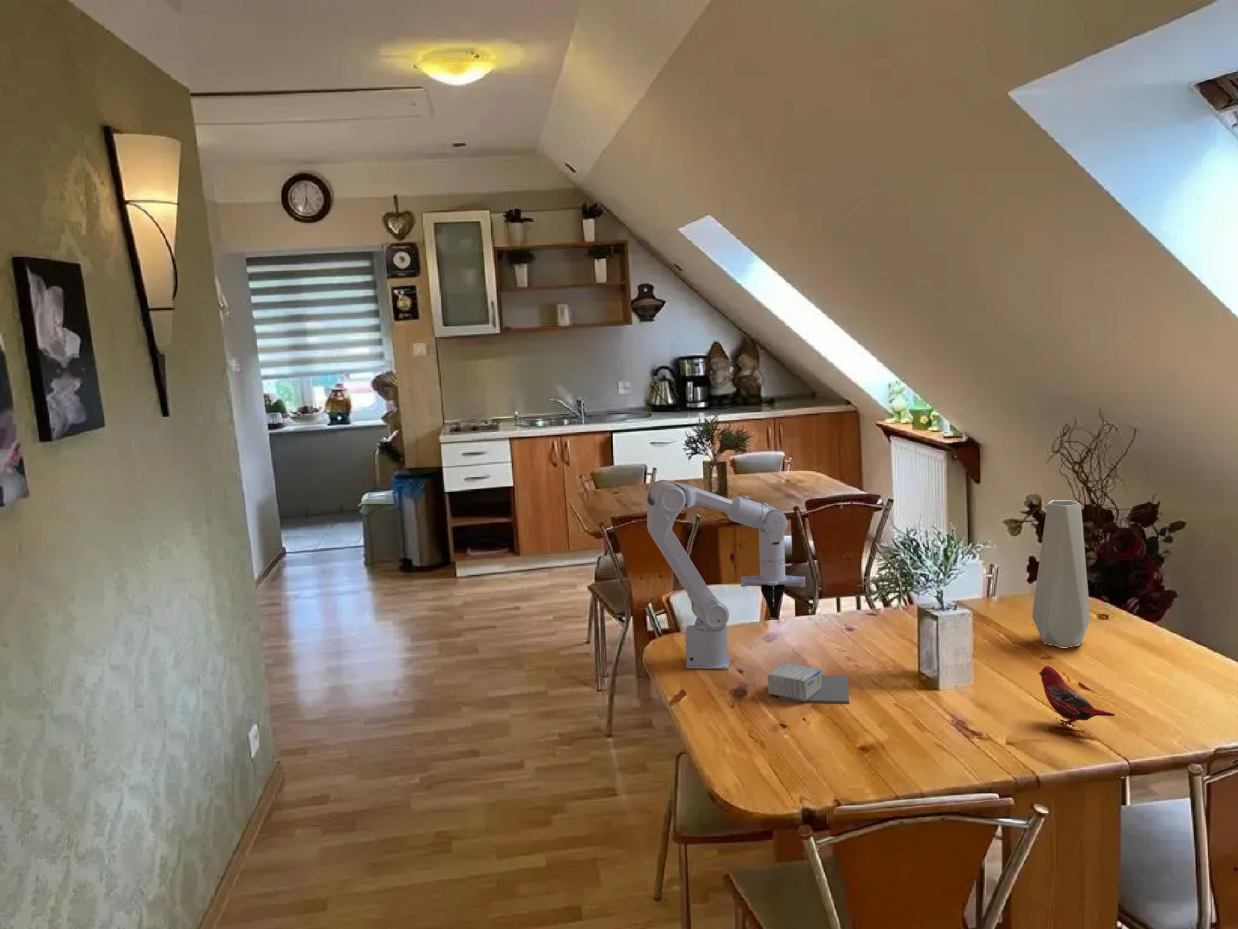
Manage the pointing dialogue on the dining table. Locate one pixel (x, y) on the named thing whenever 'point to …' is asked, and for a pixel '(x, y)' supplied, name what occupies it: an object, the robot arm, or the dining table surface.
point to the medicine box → (794, 681)
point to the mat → (828, 691)
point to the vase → (1062, 577)
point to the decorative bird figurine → (1067, 698)
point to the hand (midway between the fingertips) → (773, 616)
